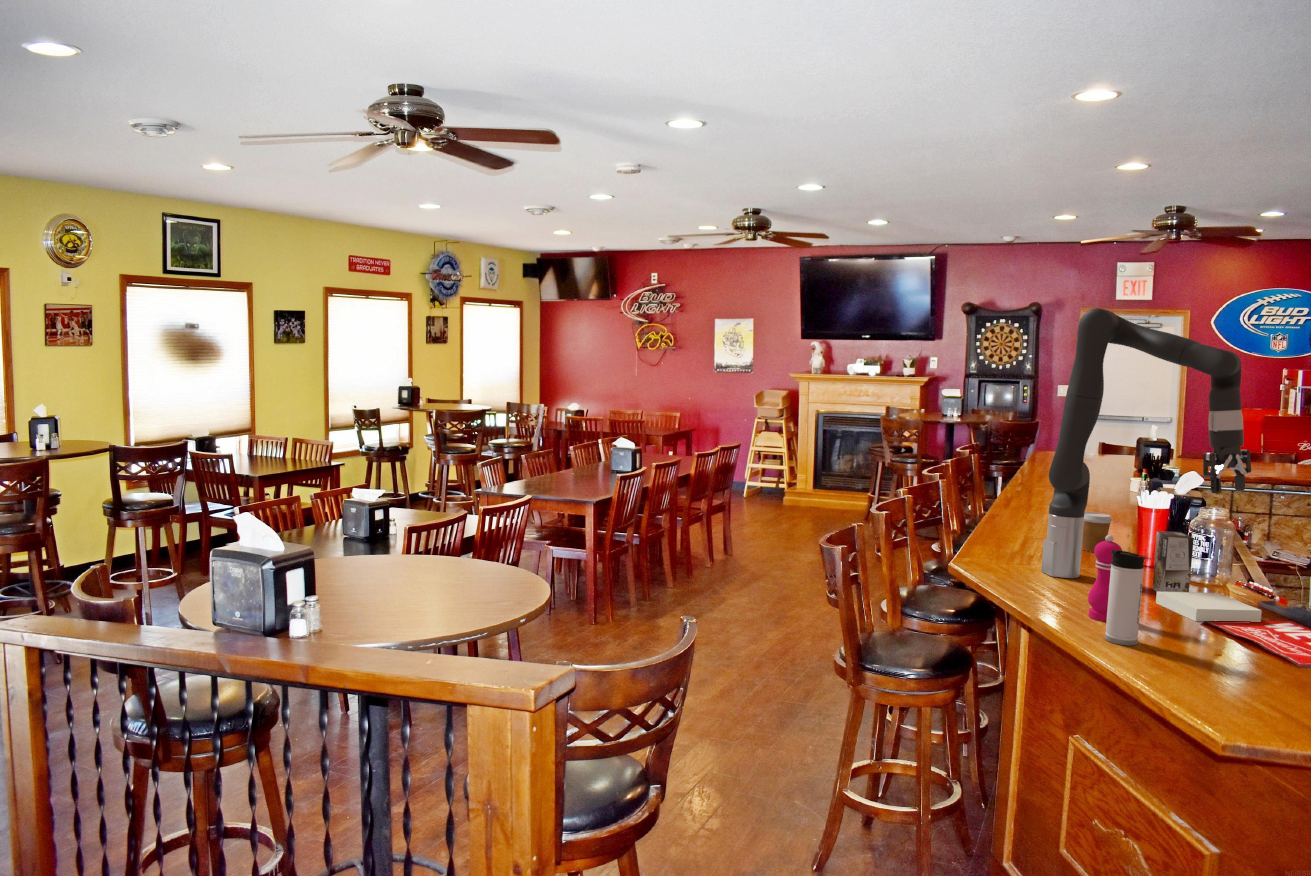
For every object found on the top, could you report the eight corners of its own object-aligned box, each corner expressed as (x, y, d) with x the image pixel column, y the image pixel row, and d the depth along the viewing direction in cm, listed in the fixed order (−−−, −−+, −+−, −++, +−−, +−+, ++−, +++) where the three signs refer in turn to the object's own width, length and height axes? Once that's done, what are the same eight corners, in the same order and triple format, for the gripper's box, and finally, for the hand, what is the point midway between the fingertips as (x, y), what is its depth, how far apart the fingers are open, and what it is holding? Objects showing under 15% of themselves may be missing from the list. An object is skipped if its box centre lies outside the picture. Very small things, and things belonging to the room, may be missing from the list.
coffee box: (1189, 599, 240) (1194, 538, 239) (1162, 597, 241) (1167, 536, 240) (1177, 590, 249) (1182, 531, 248) (1151, 588, 250) (1156, 529, 249)
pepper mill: (1118, 624, 214) (1125, 539, 212) (1084, 618, 218) (1090, 535, 216) (1121, 617, 220) (1128, 534, 218) (1088, 612, 224) (1094, 530, 222)
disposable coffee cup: (1111, 550, 301) (1114, 514, 300) (1107, 555, 293) (1110, 518, 292) (1079, 546, 306) (1082, 510, 305) (1075, 551, 298) (1077, 514, 297)
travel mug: (1097, 636, 203) (1105, 547, 201) (1126, 637, 204) (1133, 547, 202) (1114, 645, 197) (1121, 553, 195) (1143, 646, 198) (1151, 554, 196)
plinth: (1195, 621, 219) (1196, 608, 219) (1155, 602, 235) (1156, 591, 235) (1260, 622, 220) (1261, 610, 219) (1216, 604, 236) (1217, 592, 235)
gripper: (1231, 427, 242) (1233, 488, 242) (1192, 429, 237) (1194, 493, 237) (1259, 426, 235) (1261, 490, 235) (1219, 429, 230) (1222, 494, 230)
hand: (1228, 491), depth 236 cm, fingers open, 8 cm apart
